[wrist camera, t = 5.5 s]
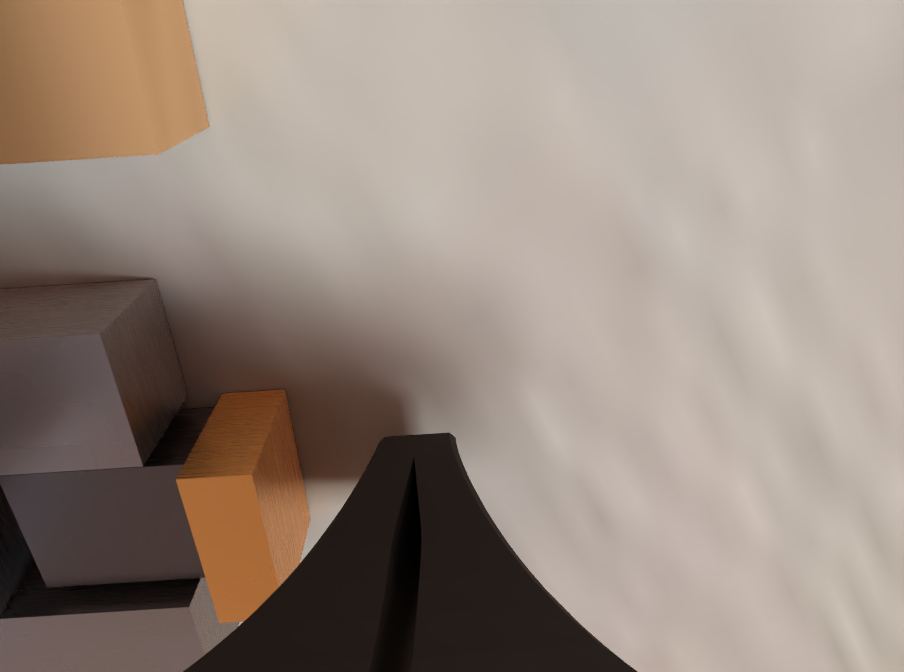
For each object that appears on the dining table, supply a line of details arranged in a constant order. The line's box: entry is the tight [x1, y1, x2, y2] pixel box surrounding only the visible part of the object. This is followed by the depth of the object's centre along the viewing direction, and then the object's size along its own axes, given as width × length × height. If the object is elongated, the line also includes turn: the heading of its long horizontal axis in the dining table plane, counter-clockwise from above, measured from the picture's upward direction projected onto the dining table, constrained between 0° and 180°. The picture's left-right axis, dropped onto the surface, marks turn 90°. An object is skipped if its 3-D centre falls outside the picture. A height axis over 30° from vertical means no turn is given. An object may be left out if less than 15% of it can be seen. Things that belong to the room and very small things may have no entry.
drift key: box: [0, 389, 310, 623], centre depth 12 cm, size 5×3×3 cm
